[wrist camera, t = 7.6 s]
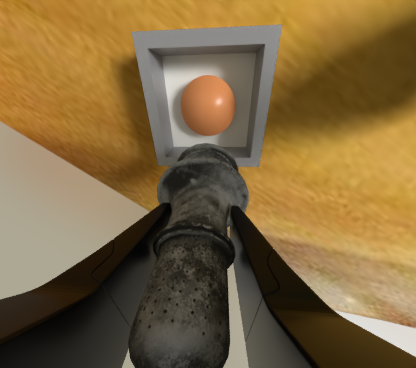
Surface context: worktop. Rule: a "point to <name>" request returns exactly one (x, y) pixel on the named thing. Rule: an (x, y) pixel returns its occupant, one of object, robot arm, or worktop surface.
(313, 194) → the worktop surface
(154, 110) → the grey square tray
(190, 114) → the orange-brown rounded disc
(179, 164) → the salt shaker
